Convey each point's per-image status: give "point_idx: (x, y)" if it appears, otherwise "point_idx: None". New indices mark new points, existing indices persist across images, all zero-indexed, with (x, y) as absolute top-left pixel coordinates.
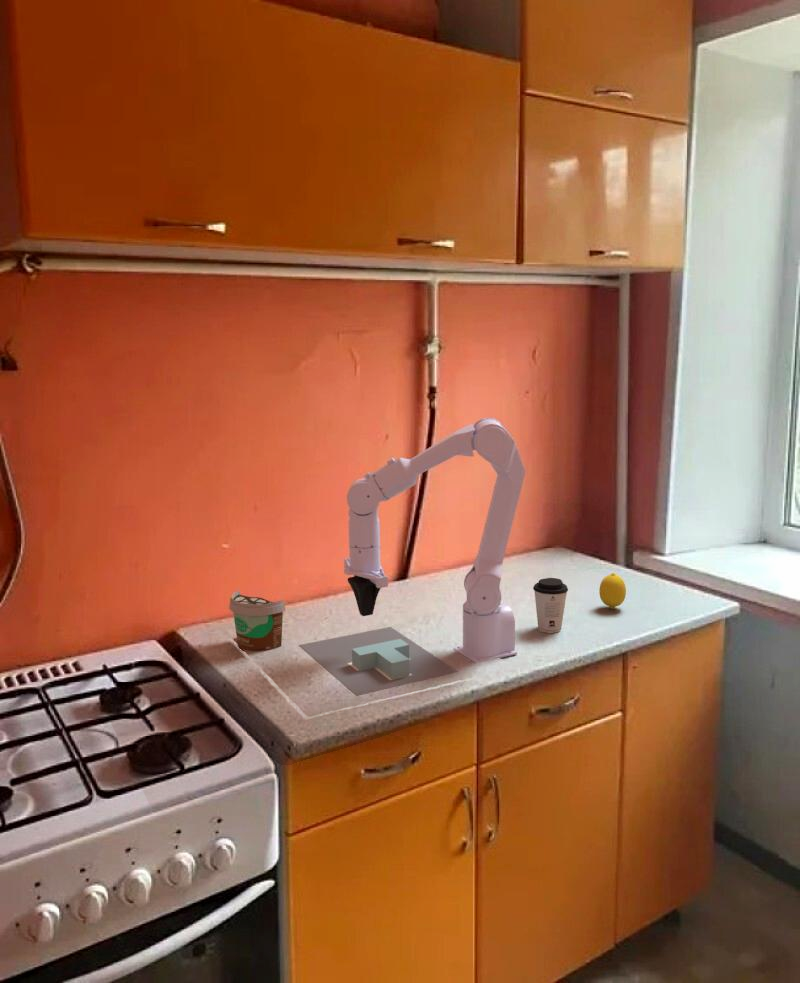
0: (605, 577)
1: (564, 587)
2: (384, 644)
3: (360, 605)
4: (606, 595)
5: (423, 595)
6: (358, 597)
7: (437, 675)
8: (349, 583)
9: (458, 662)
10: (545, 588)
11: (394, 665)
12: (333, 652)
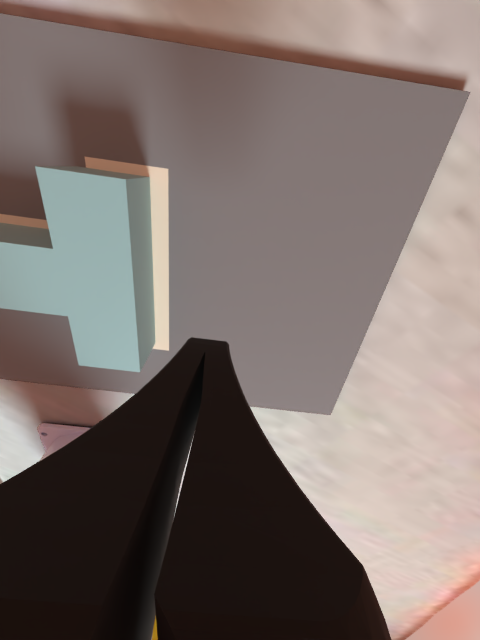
0: None
1: None
2: (113, 311)
3: (176, 369)
4: (156, 626)
5: (417, 524)
6: (171, 411)
7: None
8: (318, 535)
9: (66, 406)
10: None
11: None
12: (290, 182)
